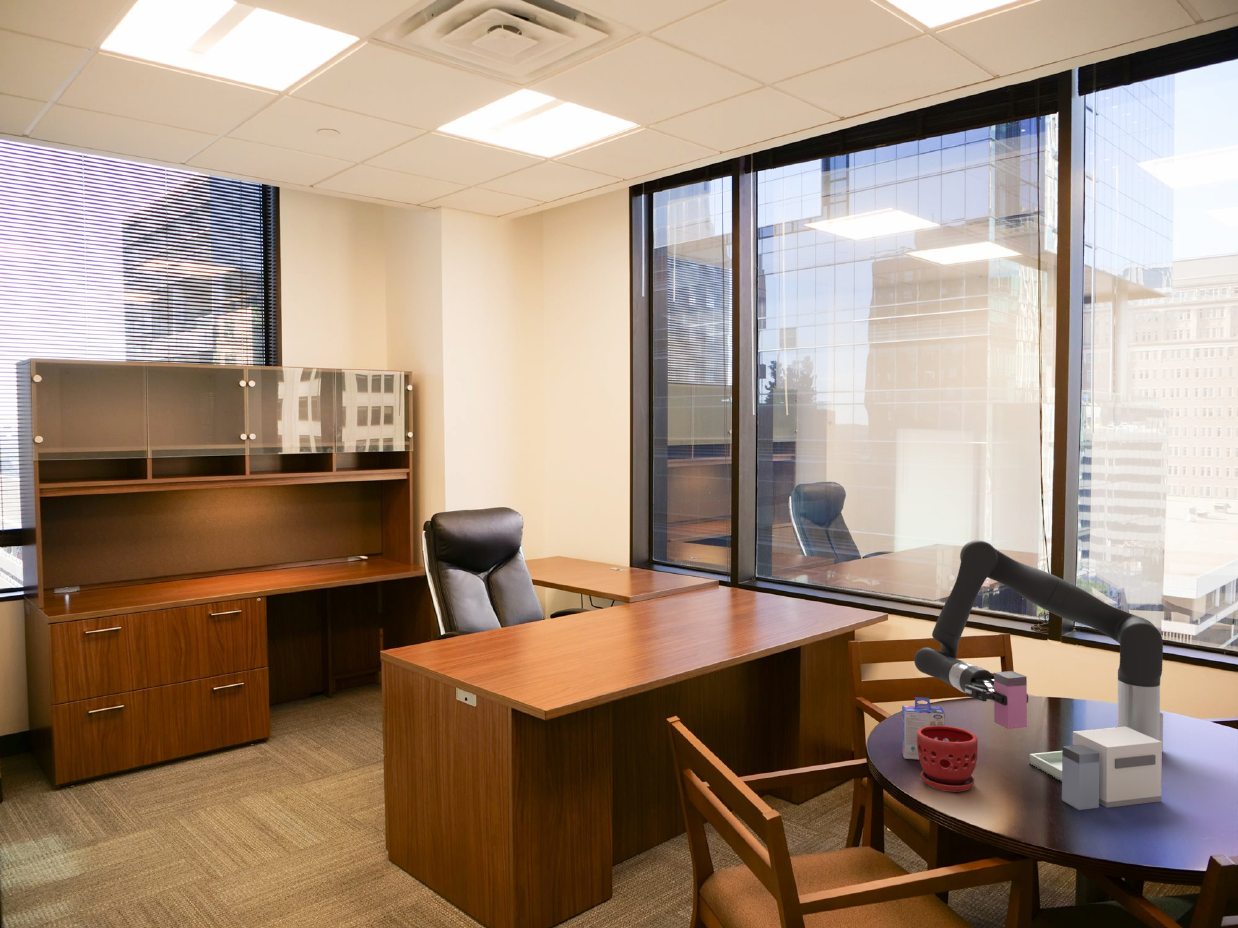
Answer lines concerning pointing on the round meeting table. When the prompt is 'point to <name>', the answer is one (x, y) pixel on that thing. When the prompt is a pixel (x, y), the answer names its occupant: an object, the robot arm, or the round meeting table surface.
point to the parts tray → (1048, 763)
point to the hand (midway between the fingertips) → (1016, 699)
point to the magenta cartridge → (1011, 699)
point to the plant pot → (947, 757)
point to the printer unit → (1125, 765)
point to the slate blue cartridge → (1080, 777)
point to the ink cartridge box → (918, 724)
